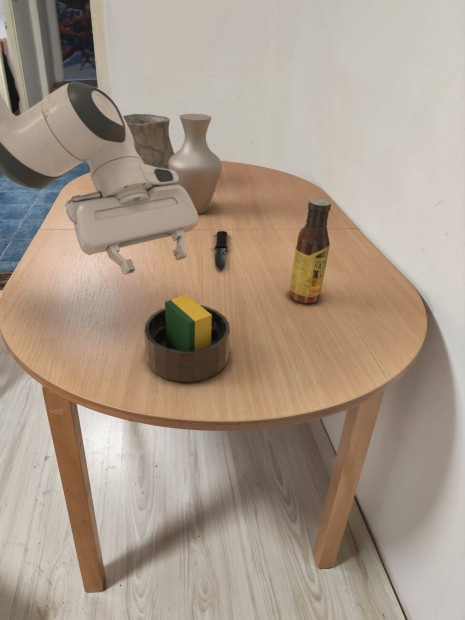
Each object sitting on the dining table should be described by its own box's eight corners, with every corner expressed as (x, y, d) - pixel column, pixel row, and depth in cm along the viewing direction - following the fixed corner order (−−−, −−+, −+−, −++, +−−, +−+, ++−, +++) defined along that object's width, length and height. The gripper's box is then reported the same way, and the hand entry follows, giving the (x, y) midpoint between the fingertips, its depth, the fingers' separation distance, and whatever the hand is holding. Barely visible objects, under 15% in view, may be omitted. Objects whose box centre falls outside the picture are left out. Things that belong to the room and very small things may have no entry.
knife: (216, 230, 115) (228, 230, 115) (216, 235, 115) (228, 235, 115) (212, 268, 97) (226, 268, 97) (212, 274, 98) (226, 274, 98)
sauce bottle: (313, 308, 88) (330, 211, 77) (283, 299, 91) (296, 203, 80) (324, 294, 93) (341, 200, 82) (296, 285, 96) (309, 193, 85)
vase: (202, 223, 121) (203, 124, 107) (159, 211, 126) (155, 116, 113) (229, 208, 132) (234, 116, 118) (188, 197, 137) (188, 108, 124)
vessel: (96, 184, 143) (88, 117, 132) (146, 170, 159) (143, 108, 148) (146, 200, 133) (142, 129, 122) (194, 183, 149) (194, 118, 138)
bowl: (176, 396, 66) (175, 365, 63) (131, 350, 75) (129, 320, 71) (244, 362, 74) (246, 332, 70) (197, 324, 82) (197, 296, 79)
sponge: (189, 370, 70) (189, 323, 66) (166, 347, 75) (164, 301, 70) (210, 361, 73) (211, 314, 68) (186, 339, 77) (186, 294, 72)
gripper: (64, 187, 66) (99, 275, 65) (184, 169, 76) (216, 244, 75) (58, 207, 71) (90, 288, 70) (171, 188, 82) (200, 257, 81)
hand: (156, 265), depth 73 cm, fingers open, 8 cm apart
